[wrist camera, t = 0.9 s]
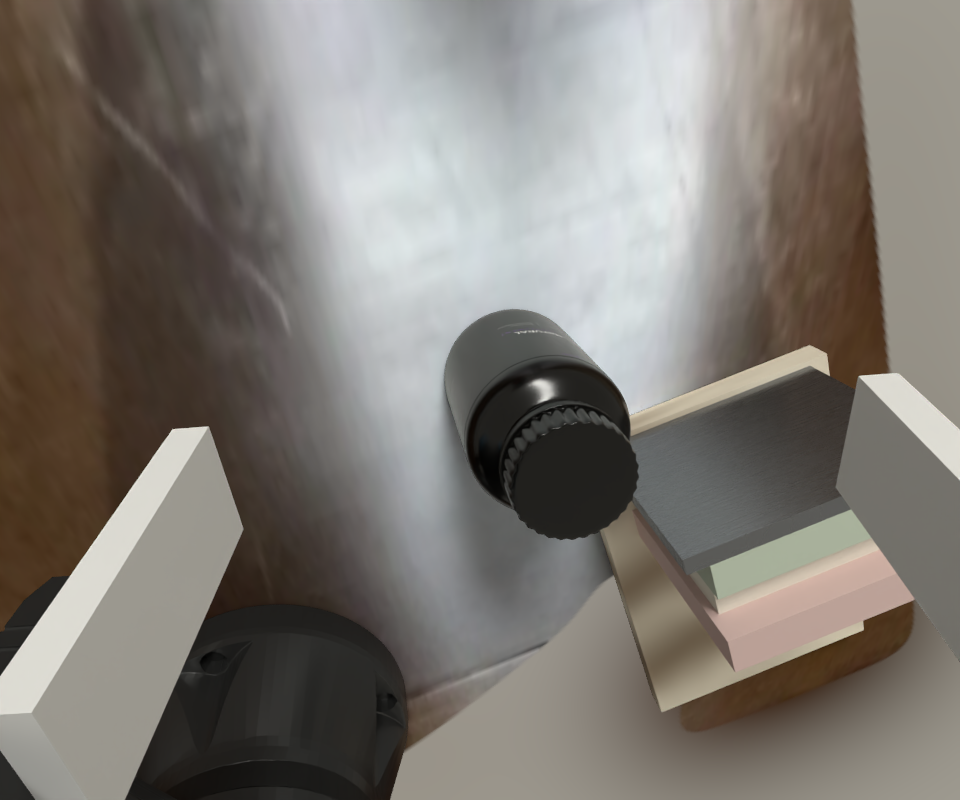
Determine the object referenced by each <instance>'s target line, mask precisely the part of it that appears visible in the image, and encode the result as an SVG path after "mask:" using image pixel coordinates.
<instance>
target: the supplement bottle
mask: <svg viewBox="0 0 960 800" xmlns="http://www.w3.org/2000/svg"><path fill="white" fill-rule="evenodd" d="M444 380H445V389H446V394H447V398H448V402H449V405H450V408H451V411H452V414H453V417H454V421H455V424H456V427H457V430H458V433H459V436H460V440H461V443H462V446H463V449H464V452H465V455H466V458H467V461H468V464H469V466H470V469H471V471H472V473H473V475H474V477H475V479H476V480H477V482H478V483H479V485H480V486H481V487H482V488H483V490H484V491H485V492H486V493H487V494H488V495H490V496H491V497H492V498H493V499H495V500H496V501H497V502H499V503H501V504H502V505H504V506H506V507H508V508H511V509H513V510H515V511H516V512H517V515H518V517H519V519H520V520H521V521H523V522H525V523H526V525H527V527H528V528H531V529H534V530H535V531H536V532H537V533H538V534H544V535H546V536H547V537H548V538H557V539H560V540H563V539H571V540H574V539H576V538H579V537H581V538H585V537H587V536H588V535H590V534H595V533H598V532H599V531H600V530H601V529H603V528H606V527H608V526H609V525H610V524H611V523H612V522H613V521H615V520H617V519H618V518H619V516H620V514H621V513H622V512H624V511H625V510H626V509H627V506H628V504H629V503H630V502H631V501H632V500H633V494H634V492H635V491H636V489H637V481H638V479H639V475H638V472H637V471H638V468H639V464H638V463H637V461H636V453H635V451H634V450H633V449H632V447H631V443H630V436H631V424H630V416H629V412H628V408H627V405H626V402H625V400H624V398H623V396H622V394H621V392H620V391H619V389H618V388H617V387H616V385H615V384H614V383H613V381H612V380H611V379H610V378H609V377H608V376H607V375H606V374H605V373H604V372H603V371H602V370H601V368H600V367H599V366H598V365H597V364H596V363H595V362H594V361H593V360H592V359H591V358H590V357H589V356H588V355H587V354H586V353H585V352H584V351H583V350H582V349H581V348H580V347H579V346H578V345H577V344H576V343H575V342H574V341H573V340H572V339H571V338H570V336H569V335H568V334H567V333H566V332H565V331H563V330H562V329H561V328H560V327H559V326H558V325H557V324H556V323H554V322H553V321H551V320H550V319H548V318H547V317H545V316H543V315H541V314H538V313H535V312H532V311H527V310H520V309H510V310H502V311H498V312H494V313H491V314H489V315H486V316H484V317H482V318H480V319H478V320H477V321H475V322H474V323H472V324H471V325H470V326H469V327H468V328H466V329H465V330H464V331H463V332H462V334H461V335H460V336H459V337H458V339H457V340H456V341H455V343H454V345H453V346H452V348H451V350H450V353H449V355H448V358H447V361H446V366H445V376H444Z"/></svg>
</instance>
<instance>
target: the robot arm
mask: <svg viewBox="0 0 960 800" xmlns="http://www.w3.org/2000/svg"><path fill="white" fill-rule="evenodd" d="M836 489H837V490H838V491H839V493H840V494H841V496H842V497H843V498H844V500H845V501H846V503H847V504H848V506H849V507H850V508H851V510H852V511H853V513H854V514H855V515H856V517H857V518H858V520H859V521H860V522H861V524H862V525H863V527H864V528H865V529H866V531H867V532H868V534H869V535H870V536H871V538H872V539H873V541H874V542H875V544H876V545H877V546H878V548H879V549H880V551H881V552H882V553H883V555H884V556H885V558H886V559H887V560H888V562H889V563H890V565H891V566H892V567H893V569H894V570H895V572H896V573H897V574H898V576H899V577H900V579H901V580H902V582H903V583H904V584H905V586H906V587H907V589H908V590H909V591H910V593H911V594H912V596H913V597H914V598H915V600H916V601H917V603H918V604H919V605H920V607H921V608H922V610H923V611H924V613H925V614H926V615H927V617H928V618H929V620H930V621H931V622H932V624H933V625H934V627H935V628H936V629H937V631H938V632H939V634H940V635H941V636H942V638H943V639H944V641H945V642H946V643H947V645H948V646H949V648H950V649H951V651H952V652H953V653H954V655H955V656H956V657H957V659H958V660H959V662H960V430H959V429H958V428H957V427H956V426H955V425H954V424H953V423H952V422H951V421H950V420H948V419H947V418H946V417H945V416H944V415H943V414H942V413H941V412H940V411H939V410H938V409H937V408H935V407H934V406H933V405H932V404H931V403H930V402H929V401H928V400H927V399H926V398H925V397H924V396H922V395H921V394H920V393H919V392H918V391H917V390H916V389H915V388H914V387H913V386H912V385H910V384H909V383H908V382H907V381H906V380H905V379H904V378H903V377H902V376H901V375H900V374H899V373H891V374H879V375H866V376H858V381H857V385H856V390H855V395H854V400H853V405H852V410H851V415H850V419H849V424H848V429H847V434H846V439H845V444H844V448H843V453H842V458H841V463H840V468H839V473H838V478H837V482H836ZM242 531H243V526H242V523H241V520H240V517H239V514H238V511H237V508H236V505H235V502H234V500H233V497H232V494H231V491H230V488H229V485H228V482H227V479H226V476H225V473H224V470H223V467H222V464H221V461H220V458H219V455H218V452H217V449H216V446H215V443H214V441H213V438H212V435H211V432H210V429H209V426H208V427H195V428H183V429H172V431H171V432H170V434H169V435H168V436H167V438H166V439H165V441H164V442H163V444H162V445H161V446H160V448H159V449H158V451H157V452H156V454H155V455H154V457H153V458H152V459H151V461H150V462H149V464H148V465H147V467H146V468H145V469H144V471H143V472H142V474H141V475H140V477H139V478H138V479H137V481H136V482H135V484H134V485H133V487H132V488H131V490H130V491H129V492H128V494H127V495H126V497H125V498H124V500H123V501H122V502H121V504H120V505H119V507H118V508H117V510H116V511H115V512H114V514H113V515H112V517H111V518H110V520H109V521H108V522H107V524H106V525H105V527H104V528H103V530H102V531H101V533H100V534H99V535H98V537H97V538H96V540H95V541H94V543H93V544H92V545H91V547H90V548H89V550H88V551H87V553H86V554H85V555H84V557H83V558H82V560H81V561H80V563H79V564H78V566H77V567H76V568H75V570H74V571H73V573H72V574H71V576H62V577H52V578H51V579H50V580H48V581H47V582H46V583H45V584H43V585H42V586H41V587H40V588H39V589H37V590H36V591H35V592H34V593H32V594H31V595H30V596H29V597H28V598H26V599H25V600H24V601H23V602H22V604H21V605H20V606H19V608H18V609H17V611H16V612H15V613H14V615H13V616H12V617H11V619H10V620H9V621H8V623H7V624H6V625H5V630H4V631H3V632H0V800H390V798H391V794H392V791H393V787H394V784H395V780H396V777H397V773H398V770H399V766H400V763H401V759H402V756H403V753H404V749H405V745H406V740H407V731H408V714H407V704H406V694H405V686H404V681H403V677H402V674H401V672H400V669H399V667H398V665H397V663H396V661H395V659H394V658H393V656H392V655H391V653H390V652H389V651H388V649H387V648H386V647H385V646H384V645H383V644H382V642H381V641H380V640H378V639H377V638H376V637H375V636H374V635H373V634H371V633H370V632H369V631H368V630H366V629H365V628H363V627H361V626H360V625H358V624H356V623H355V622H353V621H351V620H349V619H347V618H344V617H342V616H339V615H337V614H334V613H331V612H328V611H325V610H320V609H316V608H311V607H305V606H297V605H262V606H254V607H248V608H242V609H238V610H234V611H230V612H227V613H224V614H221V615H218V616H215V617H213V618H210V619H208V620H206V621H203V620H204V618H205V616H206V613H207V611H208V609H209V607H210V604H211V602H212V600H213V597H214V595H215V593H216V591H217V588H218V586H219V584H220V581H221V579H222V577H223V575H224V572H225V570H226V568H227V565H228V563H229V561H230V559H231V556H232V554H233V552H234V549H235V547H236V545H237V543H238V540H239V538H240V536H241V533H242Z"/></svg>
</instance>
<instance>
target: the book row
mask: <svg viewBox="0 0 960 800" xmlns="http://www.w3.org/2000/svg"><path fill="white" fill-rule="evenodd" d="M632 512H633V515H634V519H635V522H636V526H637V529H638V532H639V536H640V537H641V539H642V540H643V542H644V543H645V545H646V546H647V547H648V549H649V550H650V552H651V553H652V555H653V556H654V557H655V559H656V560H657V562H658V563H659V565H660V566H661V567H662V569H663V570H664V572H665V573H666V575H667V576H668V577H669V579H670V580H671V582H672V583H673V584H674V586H675V587H676V589H677V590H678V592H679V593H680V594H681V596H682V597H683V599H684V600H685V602H686V603H687V604H688V606H689V607H690V609H691V610H692V612H693V613H694V614H695V616H696V617H697V619H698V620H699V622H700V623H701V624H702V626H703V627H704V629H705V630H706V632H707V633H708V634H709V636H710V637H711V639H712V640H713V642H714V643H715V644H716V646H717V647H718V649H719V650H720V652H721V653H722V654H723V656H724V657H725V659H726V660H727V661H728V663H729V664H730V666H731V667H732V669H733V670H734V671H735V673H736V672H738V671H741V670H743V669H746V668H748V667H751V666H753V665H755V664H758V663H760V662H763V661H765V660H768V659H770V658H773V657H775V656H778V655H780V654H782V653H785V652H787V651H790V650H792V649H795V648H797V647H800V646H802V645H804V644H807V643H809V642H812V641H814V640H817V639H819V638H822V637H824V636H827V635H829V634H831V633H834V632H836V631H839V630H841V629H844V628H846V627H849V626H851V625H853V624H856V623H858V622H861V621H863V620H866V619H868V618H871V617H873V616H876V615H878V614H880V613H883V612H885V611H888V610H890V609H893V608H895V607H898V606H900V605H903V604H905V603H907V602H910V601H912V600H915V598H914V597H913V596H912V594H911V593H910V591H909V590H908V589H907V587H906V586H905V584H904V583H903V582H902V580H901V579H900V577H899V576H898V574H897V573H896V572H895V570H894V569H893V567H892V566H891V565H890V563H889V562H888V560H887V559H886V558H885V556H884V555H883V553H882V552H881V551H880V549H879V548H878V546H877V545H876V544H875V542H874V541H873V539H872V538H871V536H870V535H869V534H868V532H867V531H866V529H865V528H864V527H863V525H862V524H861V522H860V521H859V520H858V518H857V517H856V515H855V514H854V513H853V511H852V510H848V511H846V512H843V513H841V514H838V515H836V516H833V517H831V518H828V519H826V520H823V521H821V522H818V523H816V524H813V525H811V526H808V527H806V528H803V529H801V530H799V531H796V532H794V533H791V534H789V535H786V536H784V537H781V538H779V539H776V540H774V541H771V542H769V543H766V544H764V545H761V546H759V547H756V548H754V549H751V550H749V551H746V552H744V553H741V554H739V555H736V556H734V557H731V558H729V559H726V560H724V561H721V562H719V563H716V564H714V565H711V566H709V567H707V568H704V569H702V570H699V571H697V572H694V573H692V574H689V575H686V574H685V572H684V571H683V570H682V568H681V567H680V566H679V564H678V563H677V562H676V560H675V559H674V558H673V556H672V555H671V554H670V552H669V551H668V550H667V548H666V547H665V546H664V544H663V543H662V542H661V540H660V539H659V537H658V536H657V535H656V533H655V532H654V531H653V529H652V528H651V527H650V525H649V524H648V523H647V521H646V520H645V519H644V517H643V516H642V515H641V513H640V512H639V511H638V509H635V510H632Z"/></svg>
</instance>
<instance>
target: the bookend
mask: <svg viewBox="0 0 960 800" xmlns="http://www.w3.org/2000/svg"><path fill="white" fill-rule="evenodd" d="M854 395H855V389H853V388H851V387H849V386H847V385H845V384H843V383H842V382H840V381H838V380H836V379H834V378H832V377H830V376H829V375H827V374H825V373H823V372H821V371H819V370H817V369H815V368H814V367H812V366H808V367H805V368H803V369H800V370H797V371H795V372H792V373H790V374H787V375H785V376H782V377H780V378H777V379H775V380H772V381H770V382H767V383H764V384H762V385H759V386H757V387H754V388H752V389H749V390H747V391H744V392H742V393H739V394H737V395H734V396H731V397H729V398H726V399H724V400H721V401H719V402H716V403H714V404H711V405H709V406H706V407H704V408H701V409H699V410H696V411H693V412H691V413H688V414H686V415H683V416H681V417H678V418H676V419H673V420H671V421H668V422H666V423H663V424H660V425H658V426H655V427H653V428H650V429H648V430H645V431H643V432H640V433H638V434H635V435H633V436H630V443H631V447H632V449H633V450H634V451H635V453H636V461H637V463H638V464H639V468H638V471H637V472H638V475H639V479H638V481H637V489H636V491H635V492H634V494H633V500H632V503H633V504H634V505H635V507H636V508H637V509H638V511H639V512H640V513H641V515H642V516H643V517H644V519H645V520H646V521H647V523H648V524H649V525H650V527H651V528H652V529H653V531H654V532H655V533H656V535H657V536H658V537H659V539H660V540H661V542H662V543H663V544H664V546H665V547H666V548H667V550H668V551H669V552H670V554H671V555H672V556H673V558H674V559H675V560H676V562H677V563H678V564H679V566H680V567H681V568H682V570H683V571H684V572H685V574H686V575H689V574H692V573H694V572H697V571H699V570H702V569H704V568H707V567H709V566H711V565H714V564H716V563H719V562H721V561H724V560H726V559H729V558H731V557H734V556H736V555H739V554H741V553H744V552H746V551H749V550H751V549H754V548H756V547H759V546H761V545H764V544H766V543H769V542H771V541H774V540H776V539H779V538H781V537H784V536H786V535H789V534H791V533H794V532H796V531H799V530H801V529H803V528H806V527H808V526H811V525H813V524H816V523H818V522H821V521H823V520H826V519H828V518H831V517H833V516H836V515H838V514H841V513H843V512H846V511H848V510H851V508H850V507H849V506H848V504H847V503H846V501H845V500H844V498H843V497H842V496H841V494H840V493H839V491H838V490H837V489H836V482H837V478H838V473H839V468H840V463H841V458H842V453H843V448H844V444H845V439H846V434H847V429H848V424H849V419H850V415H851V410H852V405H853V400H854Z"/></svg>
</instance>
